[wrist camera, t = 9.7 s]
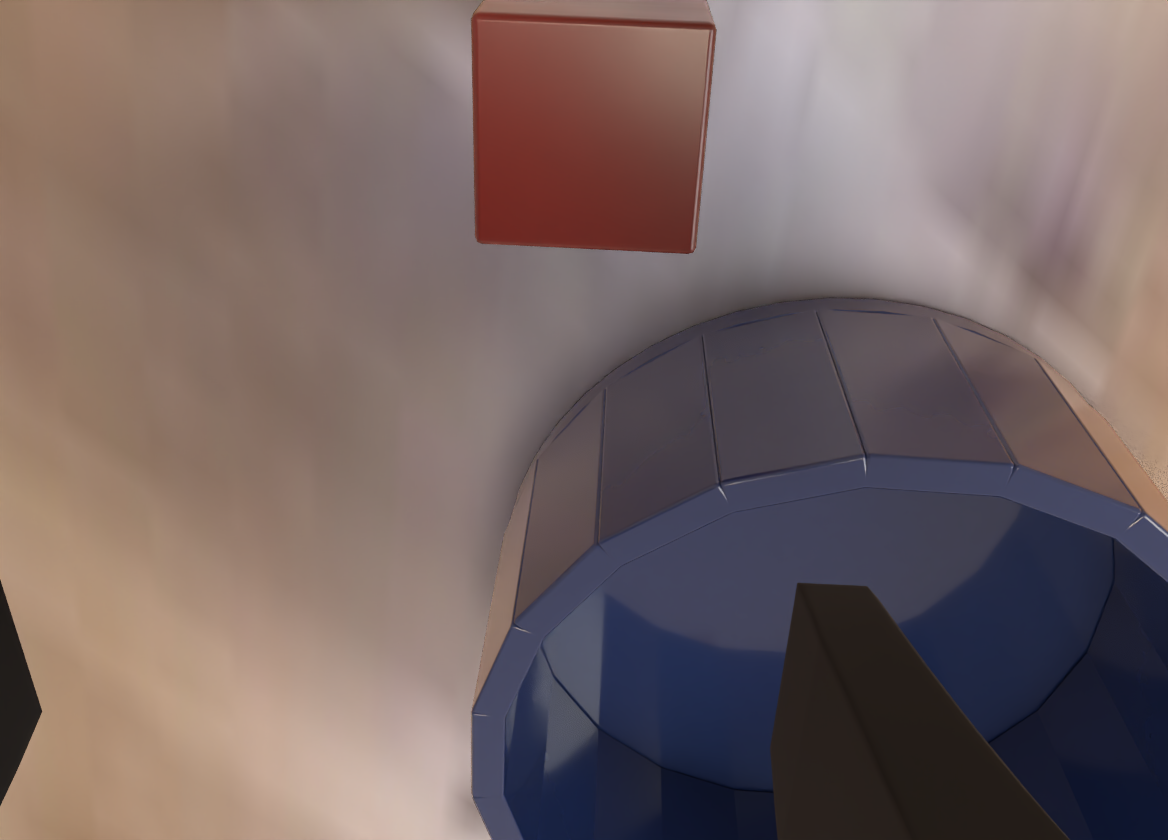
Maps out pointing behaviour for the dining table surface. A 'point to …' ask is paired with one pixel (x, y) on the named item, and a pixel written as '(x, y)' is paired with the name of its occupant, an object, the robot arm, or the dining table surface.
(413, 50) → the dining table surface
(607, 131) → the dark red rectangular block
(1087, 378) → the dining table surface
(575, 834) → the blue round bowl
